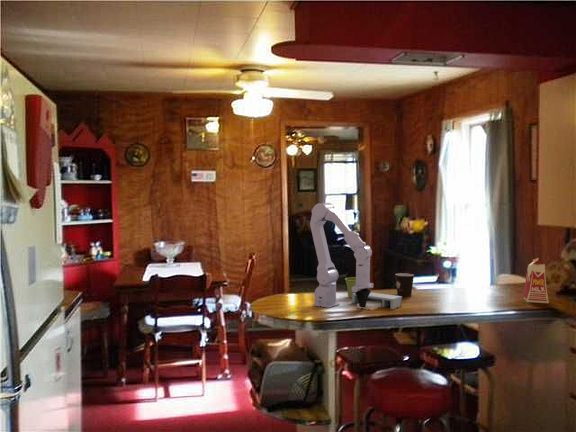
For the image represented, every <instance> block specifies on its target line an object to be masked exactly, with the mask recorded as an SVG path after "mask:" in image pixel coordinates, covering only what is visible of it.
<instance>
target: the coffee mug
mask: <svg viewBox="0 0 576 432" xmlns="http://www.w3.org/2000/svg"><path fill="white" fill-rule="evenodd" d="M394 275H395V276H394V279H393V280H394V283H395V285H396V294H397V295H396V296H402V298H411V296H412V292H413V286H414V276H415V275H414V274H412V273H402V272H400V273H399V272H398V273H395V274H394Z"/></svg>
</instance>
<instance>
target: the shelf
mask: <svg viewBox="0 0 576 432" xmlns="http://www.w3.org/2000/svg"><path fill="white" fill-rule="evenodd" d="M402 298H403V297H402V296H397V295H393V294H387V293H385V294H384V293H378V292H372V291H371V292H370V294H369V296H368V299H367V301H369V300H376V301H382V307H381V308H386V306H387V307H389V306H390V309H391V310H394V309H397V307H398V308H400V307H402V304H403V303H402V302H403V299H402ZM358 303H359V302H358V298H357V296H356V294H355V293H353V294H352V298H351V304H358Z"/></svg>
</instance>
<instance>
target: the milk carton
mask: <svg viewBox="0 0 576 432" xmlns="http://www.w3.org/2000/svg"><path fill="white" fill-rule="evenodd" d="M523 300H525V302H526V303H536V304H537V303H539V304H549V296H548V291H547V280H546V264H545V263H543V262H541V261H540V260H539V257H536V258H535V259H532V262H531V263H529V264H527V271H526V277H525V281H524V290H523Z"/></svg>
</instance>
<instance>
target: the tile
mask: <svg viewBox="0 0 576 432" xmlns="http://www.w3.org/2000/svg"><path fill="white" fill-rule="evenodd" d="M378 307H380V308H383V307H382V301H376V300H369V301H367V302H366V306H365V307H360V306H359V303H356V308H357V309H361V308H363V309H362V310H368V309H369V310H370V311H372V310H377V309H379V308H378Z"/></svg>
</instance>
